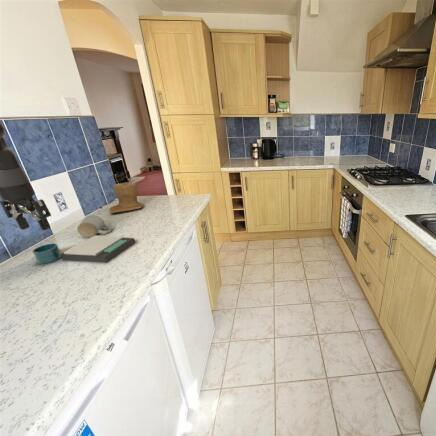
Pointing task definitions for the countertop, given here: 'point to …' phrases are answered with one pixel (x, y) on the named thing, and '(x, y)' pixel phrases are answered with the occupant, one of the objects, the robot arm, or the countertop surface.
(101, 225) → the ceramic mug
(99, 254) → the scale
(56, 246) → the bowl
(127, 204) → the brown upright piece
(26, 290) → the countertop surface
